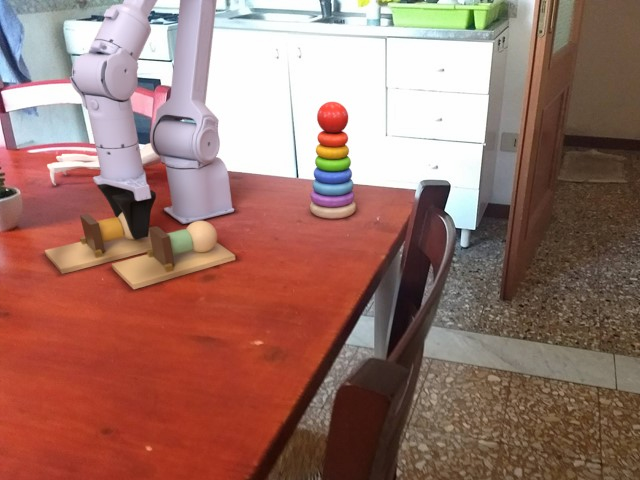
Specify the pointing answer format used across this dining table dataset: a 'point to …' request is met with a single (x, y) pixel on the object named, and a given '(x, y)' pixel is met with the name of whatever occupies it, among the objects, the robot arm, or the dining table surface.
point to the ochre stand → (95, 253)
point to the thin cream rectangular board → (169, 266)
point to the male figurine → (95, 161)
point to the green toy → (182, 241)
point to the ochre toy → (104, 230)
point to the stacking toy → (332, 166)
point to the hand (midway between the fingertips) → (134, 232)
